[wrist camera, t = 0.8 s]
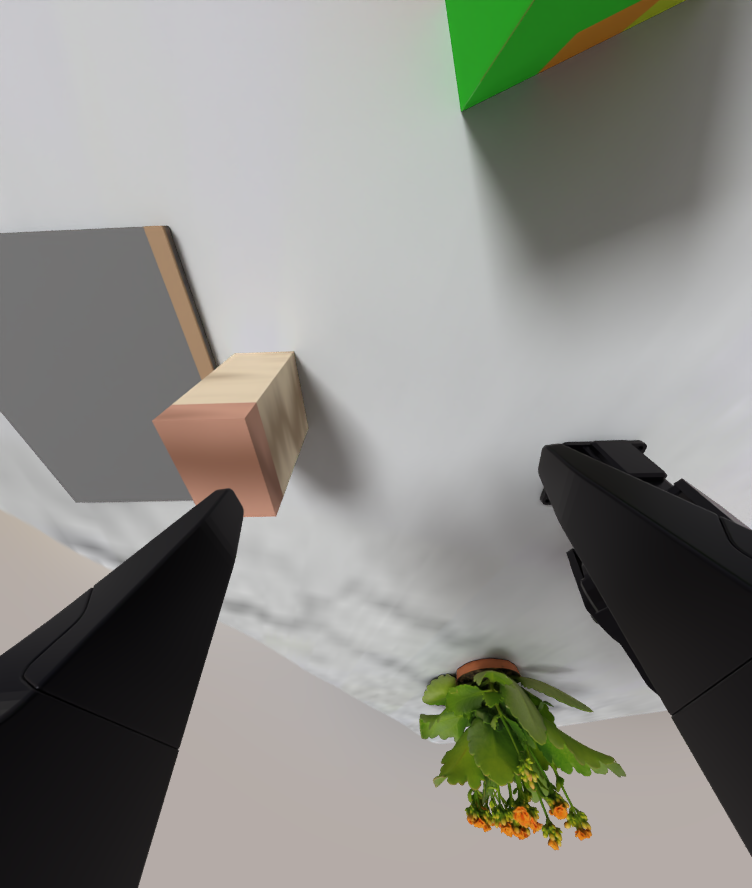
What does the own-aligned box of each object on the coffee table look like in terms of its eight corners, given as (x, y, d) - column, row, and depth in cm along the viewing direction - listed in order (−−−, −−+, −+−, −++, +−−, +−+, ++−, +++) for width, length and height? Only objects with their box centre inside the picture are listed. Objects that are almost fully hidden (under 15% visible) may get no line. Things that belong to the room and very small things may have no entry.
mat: (260, 495, 28) (258, 500, 27) (79, 499, 28) (74, 504, 28) (168, 226, 16) (161, 225, 16) (-132, 239, 17) (-147, 239, 16)
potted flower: (415, 633, 43) (434, 837, 28) (590, 628, 41) (703, 839, 27) (416, 696, 57) (429, 854, 42) (547, 694, 55) (606, 855, 41)
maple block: (308, 428, 24) (276, 516, 16) (257, 429, 24) (202, 517, 16) (293, 351, 20) (244, 418, 13) (234, 353, 20) (151, 420, 13)
